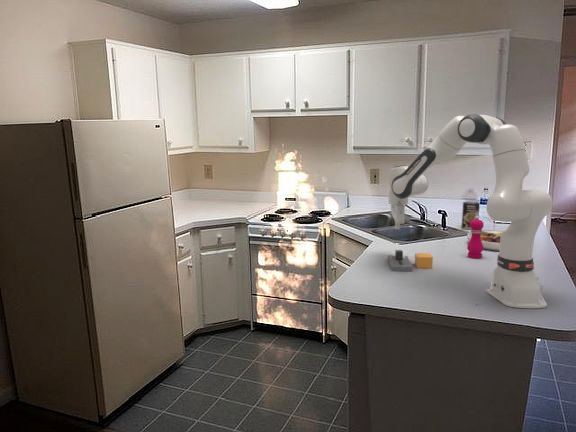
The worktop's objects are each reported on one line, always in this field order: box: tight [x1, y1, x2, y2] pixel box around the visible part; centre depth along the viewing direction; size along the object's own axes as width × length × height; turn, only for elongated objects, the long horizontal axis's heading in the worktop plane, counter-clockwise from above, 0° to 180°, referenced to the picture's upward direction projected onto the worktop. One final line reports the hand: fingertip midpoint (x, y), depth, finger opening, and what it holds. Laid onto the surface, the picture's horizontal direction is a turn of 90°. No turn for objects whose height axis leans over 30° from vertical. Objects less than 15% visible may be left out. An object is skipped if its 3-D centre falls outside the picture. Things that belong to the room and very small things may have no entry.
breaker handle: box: [394, 249, 404, 260], centre depth 213 cm, size 3×3×4 cm
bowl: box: [467, 229, 505, 252], centre depth 242 cm, size 30×30×8 cm
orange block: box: [414, 252, 434, 269], centre depth 209 cm, size 7×7×5 cm
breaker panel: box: [387, 254, 414, 272], centre depth 211 cm, size 17×9×3 cm, turn 174°
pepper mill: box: [466, 216, 484, 259], centre depth 220 cm, size 7×7×20 cm
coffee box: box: [460, 201, 481, 231], centre depth 279 cm, size 9×6×16 cm
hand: (397, 228), depth 219 cm, fingers closed
